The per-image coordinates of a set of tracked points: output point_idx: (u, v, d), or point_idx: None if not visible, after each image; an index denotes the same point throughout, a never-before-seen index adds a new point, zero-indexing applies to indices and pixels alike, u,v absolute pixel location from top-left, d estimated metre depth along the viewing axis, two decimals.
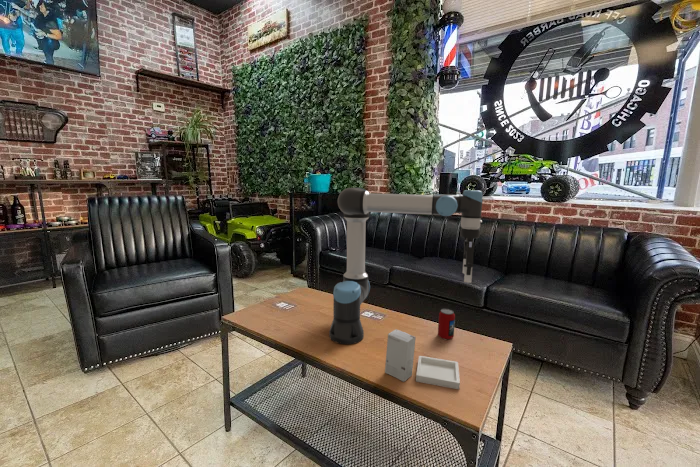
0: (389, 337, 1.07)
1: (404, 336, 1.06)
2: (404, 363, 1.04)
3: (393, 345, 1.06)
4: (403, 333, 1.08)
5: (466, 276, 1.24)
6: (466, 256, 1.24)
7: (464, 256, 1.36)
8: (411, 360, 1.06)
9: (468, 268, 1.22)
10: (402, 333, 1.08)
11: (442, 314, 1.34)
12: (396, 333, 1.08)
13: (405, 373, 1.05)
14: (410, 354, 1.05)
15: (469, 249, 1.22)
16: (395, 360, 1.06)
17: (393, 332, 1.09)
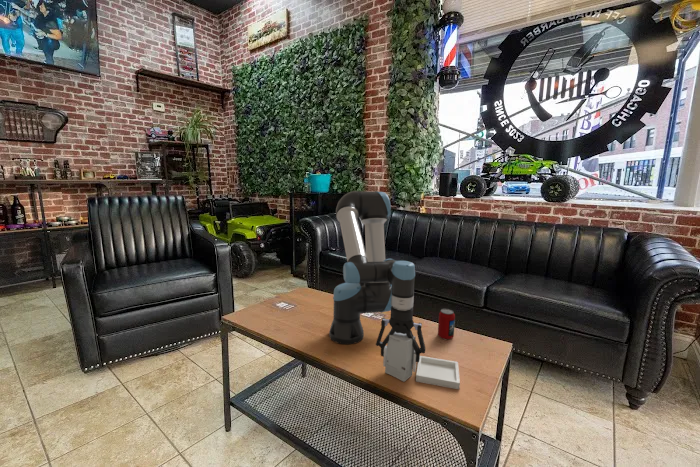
0: (389, 337, 1.07)
1: (404, 336, 1.06)
2: (404, 363, 1.04)
3: (393, 345, 1.06)
4: None
5: None
6: (387, 335, 1.10)
7: None
8: (411, 360, 1.06)
9: (381, 347, 1.10)
10: None
11: (442, 314, 1.34)
12: (396, 333, 1.08)
13: (405, 373, 1.05)
14: (410, 354, 1.05)
15: None
16: (395, 360, 1.06)
17: None
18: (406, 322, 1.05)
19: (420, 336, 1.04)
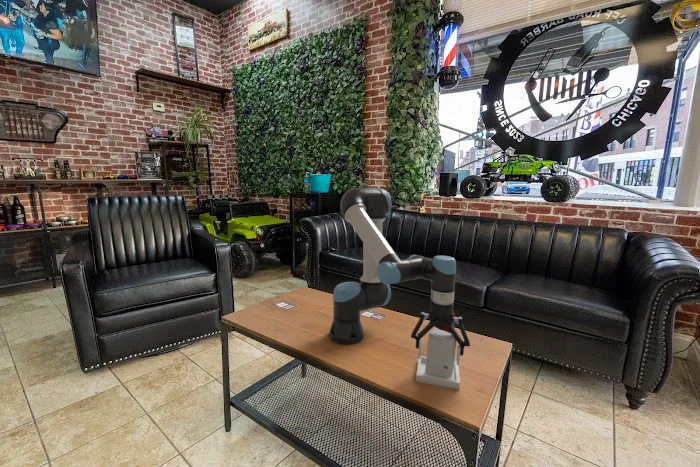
0: (430, 336, 1.07)
1: (445, 335, 1.06)
2: (447, 362, 1.04)
3: (435, 344, 1.06)
4: (444, 332, 1.08)
5: None
6: None
7: None
8: (452, 359, 1.06)
9: (416, 340, 1.10)
10: (443, 332, 1.08)
11: None
12: (437, 332, 1.08)
13: (447, 372, 1.05)
14: (452, 353, 1.05)
15: (419, 320, 1.09)
16: (436, 359, 1.06)
17: (434, 331, 1.08)
18: (446, 317, 1.05)
19: (462, 329, 1.04)
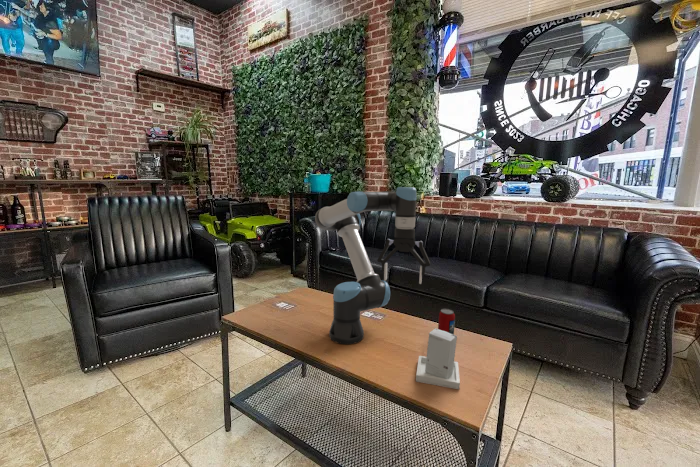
0: (430, 336, 1.07)
1: (445, 335, 1.06)
2: (447, 362, 1.04)
3: (435, 344, 1.06)
4: (444, 332, 1.08)
5: None
6: None
7: None
8: (452, 359, 1.06)
9: (382, 264, 1.23)
10: (443, 332, 1.08)
11: (442, 314, 1.34)
12: (437, 332, 1.08)
13: (447, 372, 1.05)
14: (452, 353, 1.05)
15: None
16: (436, 359, 1.06)
17: (434, 331, 1.09)
18: (408, 241, 1.18)
19: (423, 251, 1.17)
